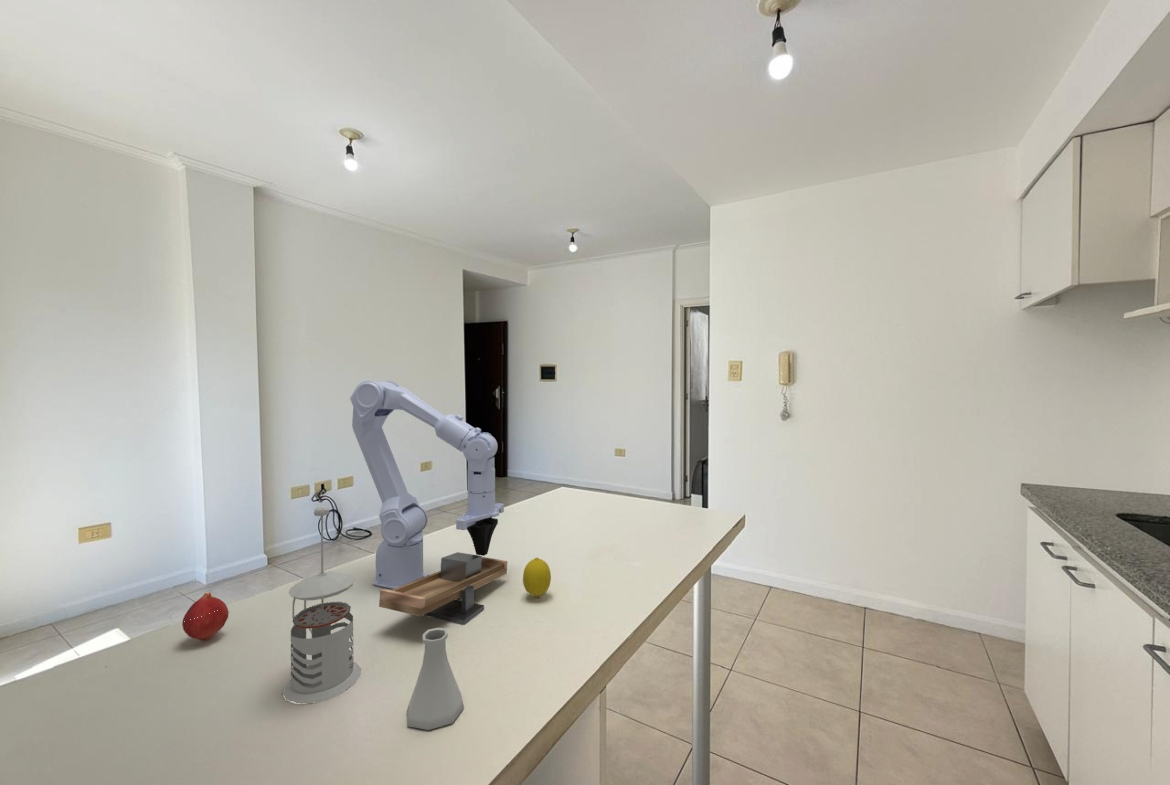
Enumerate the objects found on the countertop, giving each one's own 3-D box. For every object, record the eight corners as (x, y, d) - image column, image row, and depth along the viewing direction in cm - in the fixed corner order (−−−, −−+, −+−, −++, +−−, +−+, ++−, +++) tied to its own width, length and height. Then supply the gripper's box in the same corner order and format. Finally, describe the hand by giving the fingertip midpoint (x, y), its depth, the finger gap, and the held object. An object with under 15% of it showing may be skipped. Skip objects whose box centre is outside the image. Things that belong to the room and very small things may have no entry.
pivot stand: (403, 610, 85) (402, 584, 85) (425, 597, 90) (425, 572, 90) (464, 624, 80) (463, 596, 80) (484, 609, 85) (483, 583, 85)
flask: (414, 694, 61) (414, 621, 61) (468, 690, 62) (468, 618, 62) (397, 734, 54) (396, 651, 54) (458, 730, 55) (458, 648, 55)
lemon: (546, 605, 87) (546, 563, 87) (519, 602, 88) (518, 561, 88) (554, 592, 92) (553, 553, 92) (528, 590, 93) (528, 551, 93)
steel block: (440, 578, 89) (441, 557, 89) (456, 572, 93) (457, 552, 94) (465, 583, 86) (466, 562, 87) (480, 576, 91) (481, 556, 91)
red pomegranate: (177, 654, 71) (177, 603, 71) (189, 636, 76) (188, 589, 76) (223, 644, 74) (223, 595, 74) (232, 627, 79) (231, 582, 79)
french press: (304, 714, 58) (302, 519, 57) (262, 684, 64) (260, 507, 64) (375, 673, 66) (374, 503, 66) (332, 649, 72) (330, 493, 72)
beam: (377, 610, 77) (379, 590, 77) (471, 570, 100) (472, 555, 101) (421, 620, 73) (422, 599, 73) (507, 576, 97) (508, 561, 97)
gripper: (476, 499, 88) (477, 569, 88) (515, 485, 101) (515, 545, 102) (447, 496, 91) (447, 564, 91) (488, 483, 104) (489, 541, 104)
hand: (481, 554), depth 96 cm, fingers closed
